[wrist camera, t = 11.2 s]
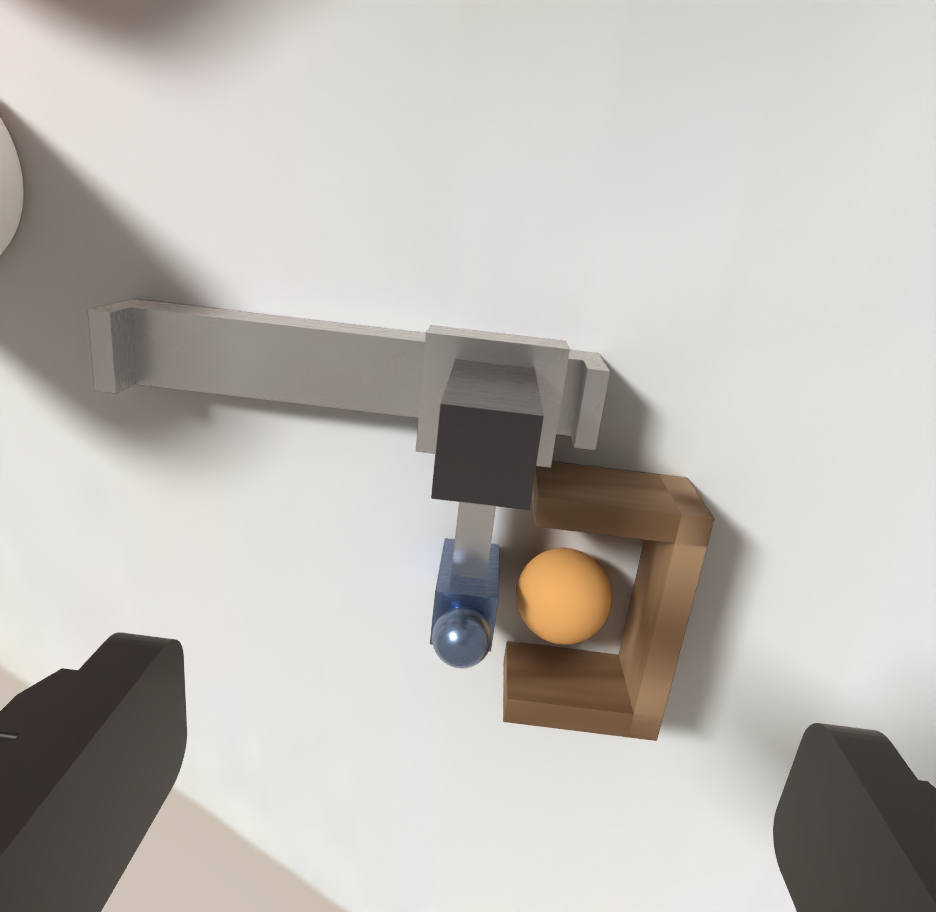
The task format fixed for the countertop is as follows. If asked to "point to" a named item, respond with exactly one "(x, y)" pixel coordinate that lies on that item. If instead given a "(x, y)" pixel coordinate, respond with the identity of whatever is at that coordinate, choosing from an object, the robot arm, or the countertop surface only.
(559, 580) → the ball
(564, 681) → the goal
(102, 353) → the rail
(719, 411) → the countertop surface
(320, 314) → the countertop surface
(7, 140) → the mug
